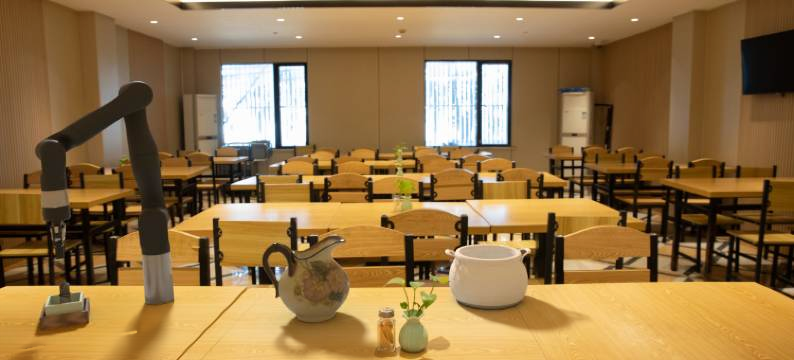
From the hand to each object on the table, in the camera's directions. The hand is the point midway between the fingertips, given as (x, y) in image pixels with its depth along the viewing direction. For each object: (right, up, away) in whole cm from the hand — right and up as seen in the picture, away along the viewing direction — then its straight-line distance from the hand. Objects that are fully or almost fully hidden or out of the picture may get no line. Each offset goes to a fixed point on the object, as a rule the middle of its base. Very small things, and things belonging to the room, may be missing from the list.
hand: (61, 255), depth 189 cm
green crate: (0, -20, +3) cm, 21 cm away
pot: (+136, -17, +17) cm, 138 cm away
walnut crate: (0, -21, +3) cm, 21 cm away
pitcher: (+79, -20, +4) cm, 81 cm away
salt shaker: (0, -20, +3) cm, 20 cm away
